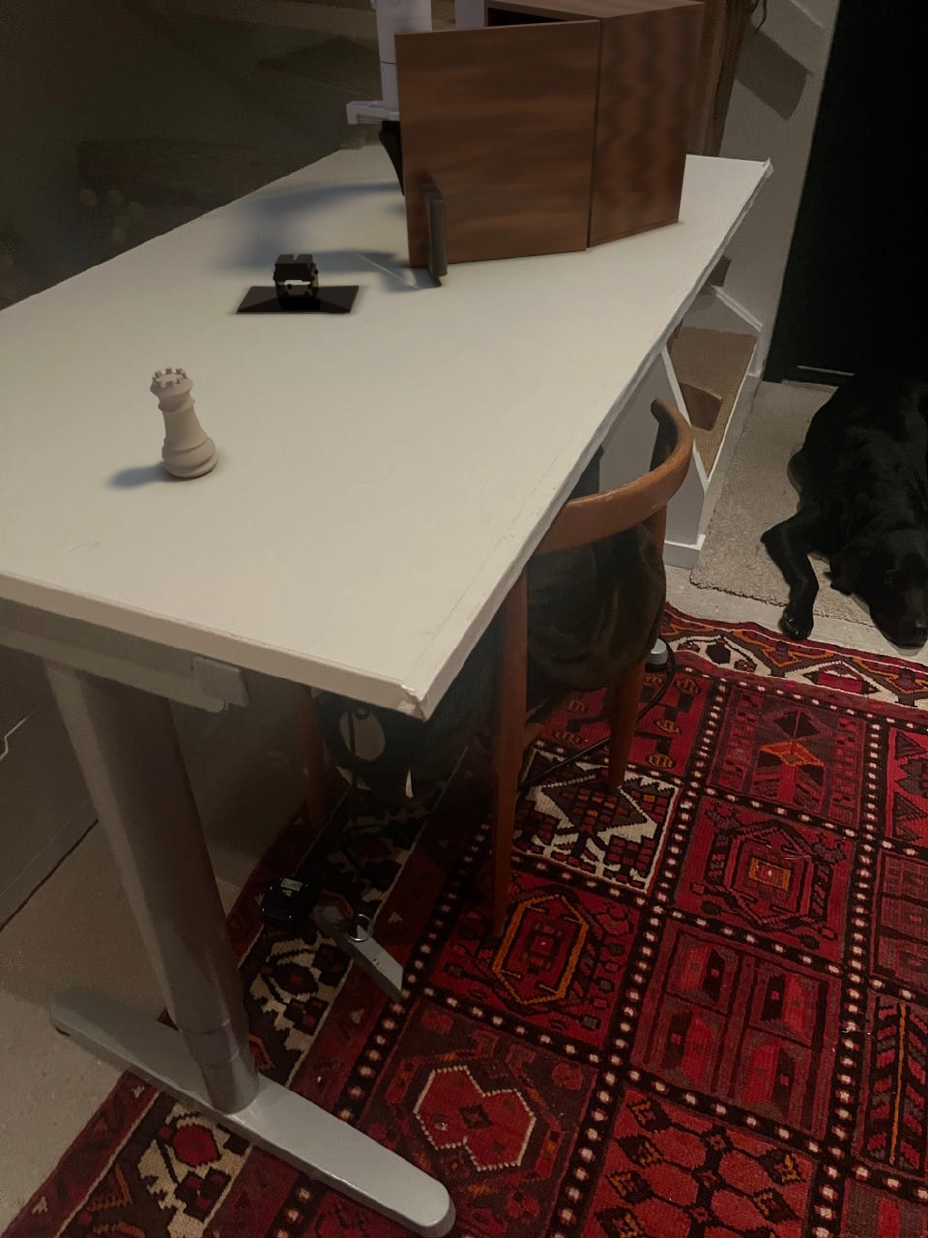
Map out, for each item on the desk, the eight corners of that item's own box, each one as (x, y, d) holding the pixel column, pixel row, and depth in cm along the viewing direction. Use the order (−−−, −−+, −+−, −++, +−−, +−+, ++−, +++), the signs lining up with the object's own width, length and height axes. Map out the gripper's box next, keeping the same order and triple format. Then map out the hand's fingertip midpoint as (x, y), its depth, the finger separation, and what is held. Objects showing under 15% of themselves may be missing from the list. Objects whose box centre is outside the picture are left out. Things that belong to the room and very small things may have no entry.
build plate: (359, 289, 102) (355, 247, 98) (350, 315, 96) (345, 271, 93) (251, 288, 102) (244, 246, 99) (236, 314, 97) (228, 271, 94)
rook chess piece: (169, 452, 75) (144, 363, 70) (223, 449, 75) (202, 359, 70) (160, 481, 72) (133, 389, 66) (216, 477, 72) (194, 385, 66)
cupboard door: (604, 270, 103) (622, 30, 88) (419, 289, 100) (404, 45, 85) (583, 247, 109) (597, 19, 94) (408, 264, 106) (393, 32, 91)
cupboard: (589, 248, 109) (604, 17, 94) (485, 206, 123) (483, -2, 107) (678, 222, 115) (705, 2, 100) (570, 185, 129) (579, -14, 113)
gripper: (329, 63, 95) (343, 199, 104) (457, 68, 91) (461, 209, 100) (356, 51, 100) (368, 182, 109) (479, 55, 96) (481, 190, 105)
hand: (414, 194), depth 105 cm, fingers closed
